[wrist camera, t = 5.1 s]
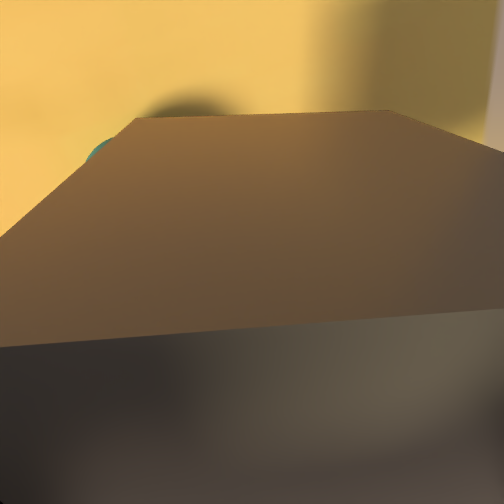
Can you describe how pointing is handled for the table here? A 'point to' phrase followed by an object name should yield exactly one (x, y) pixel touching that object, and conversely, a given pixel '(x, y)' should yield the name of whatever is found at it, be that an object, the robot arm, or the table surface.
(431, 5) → the table surface
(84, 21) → the table surface
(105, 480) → the grey block
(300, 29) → the table surface
